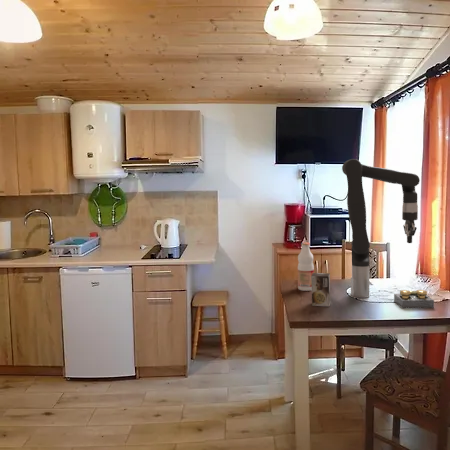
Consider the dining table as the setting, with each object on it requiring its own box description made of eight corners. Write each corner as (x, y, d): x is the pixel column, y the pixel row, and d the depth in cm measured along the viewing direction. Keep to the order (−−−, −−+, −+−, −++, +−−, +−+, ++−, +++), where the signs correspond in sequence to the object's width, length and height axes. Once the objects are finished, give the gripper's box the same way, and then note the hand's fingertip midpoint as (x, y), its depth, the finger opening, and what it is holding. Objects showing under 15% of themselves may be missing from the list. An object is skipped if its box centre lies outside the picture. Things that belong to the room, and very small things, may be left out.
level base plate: (402, 308, 200) (402, 297, 200) (394, 301, 212) (394, 290, 212) (433, 308, 199) (433, 296, 199) (423, 300, 211) (423, 290, 211)
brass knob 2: (418, 305, 203) (418, 292, 203) (414, 302, 208) (414, 290, 207) (428, 305, 203) (428, 292, 202) (424, 302, 208) (424, 289, 207)
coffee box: (330, 303, 213) (330, 273, 211) (329, 306, 207) (329, 276, 205) (313, 302, 216) (312, 272, 214) (311, 305, 210) (311, 275, 208)
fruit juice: (295, 287, 245) (294, 242, 242) (310, 286, 247) (309, 241, 244) (302, 291, 236) (301, 244, 233) (316, 290, 238) (316, 243, 235)
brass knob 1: (401, 306, 204) (402, 292, 203) (398, 303, 209) (398, 290, 208) (412, 305, 204) (412, 292, 203) (408, 302, 208) (408, 290, 208)
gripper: (398, 210, 224) (398, 241, 226) (407, 212, 211) (406, 245, 213) (412, 210, 224) (411, 240, 226) (422, 211, 210) (421, 244, 212)
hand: (409, 242), depth 219 cm, fingers closed
